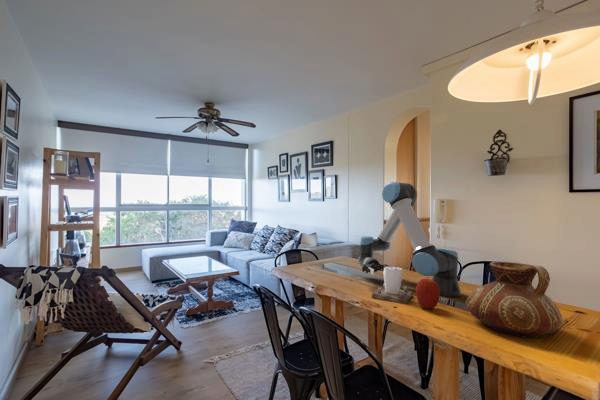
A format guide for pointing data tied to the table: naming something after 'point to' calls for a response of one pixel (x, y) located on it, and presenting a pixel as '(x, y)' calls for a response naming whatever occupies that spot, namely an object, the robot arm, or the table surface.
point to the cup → (392, 279)
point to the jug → (516, 301)
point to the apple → (427, 293)
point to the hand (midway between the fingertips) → (385, 272)
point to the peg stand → (392, 295)
